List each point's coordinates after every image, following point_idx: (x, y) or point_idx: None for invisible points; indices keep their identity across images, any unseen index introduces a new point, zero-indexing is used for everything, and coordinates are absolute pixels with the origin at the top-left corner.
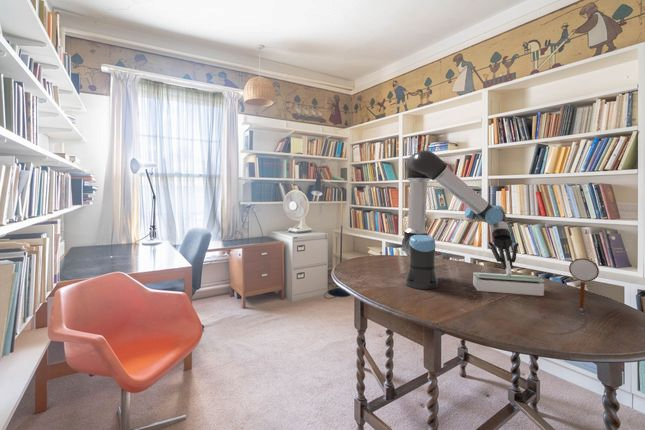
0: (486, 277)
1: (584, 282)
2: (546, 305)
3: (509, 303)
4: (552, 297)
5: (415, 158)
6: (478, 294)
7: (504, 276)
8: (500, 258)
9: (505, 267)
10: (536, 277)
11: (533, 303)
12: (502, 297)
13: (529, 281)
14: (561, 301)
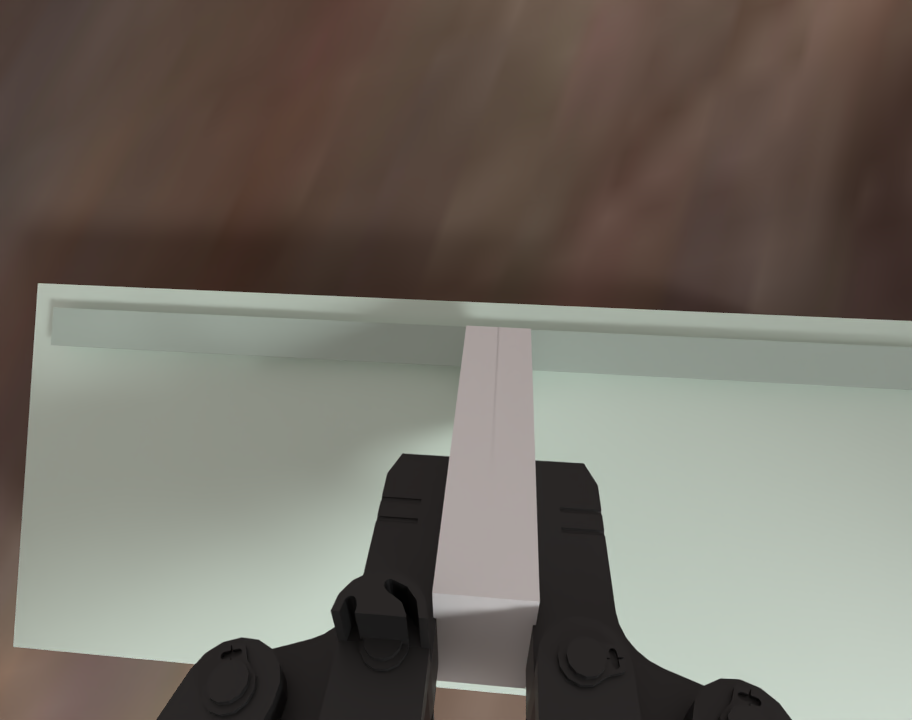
0: (874, 320)
1: None
2: (287, 40)
3: (610, 11)
4: None
5: None
6: (870, 220)
7: (586, 334)
8: (701, 707)
9: (550, 470)
10: (52, 506)
11: (381, 66)
12: (626, 176)
13: None
14: (93, 185)
